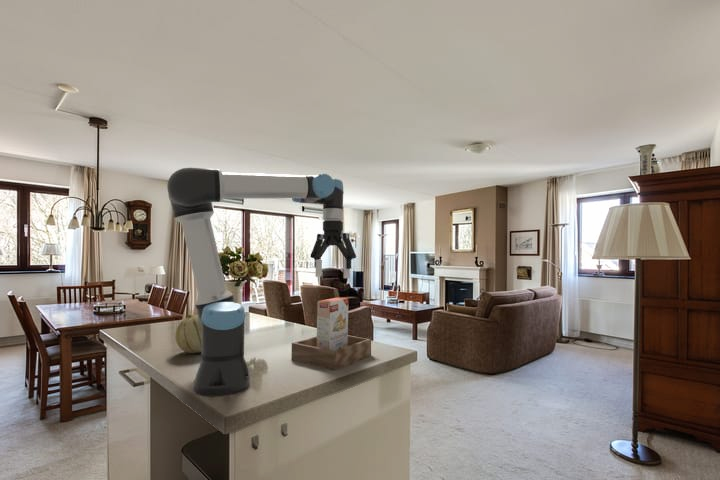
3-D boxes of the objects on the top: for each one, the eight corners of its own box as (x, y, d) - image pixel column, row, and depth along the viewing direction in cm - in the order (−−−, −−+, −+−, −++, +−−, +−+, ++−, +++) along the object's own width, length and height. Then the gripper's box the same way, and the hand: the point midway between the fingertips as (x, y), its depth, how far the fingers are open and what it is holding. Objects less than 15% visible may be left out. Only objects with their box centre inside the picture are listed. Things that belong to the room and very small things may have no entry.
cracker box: (330, 362, 125) (330, 301, 126) (315, 359, 128) (316, 300, 129) (348, 352, 138) (349, 297, 139) (335, 350, 140) (335, 296, 141)
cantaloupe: (224, 350, 142) (225, 312, 143) (192, 360, 129) (193, 318, 130) (199, 345, 149) (199, 309, 150) (166, 354, 136) (167, 314, 136)
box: (334, 370, 118) (334, 351, 118) (291, 359, 130) (291, 343, 130) (371, 355, 136) (371, 339, 136) (330, 347, 148) (330, 332, 148)
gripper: (365, 220, 131) (365, 278, 130) (315, 223, 145) (314, 275, 144) (353, 218, 125) (353, 279, 124) (302, 221, 139) (301, 276, 138)
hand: (332, 277), depth 134 cm, fingers open, 13 cm apart
